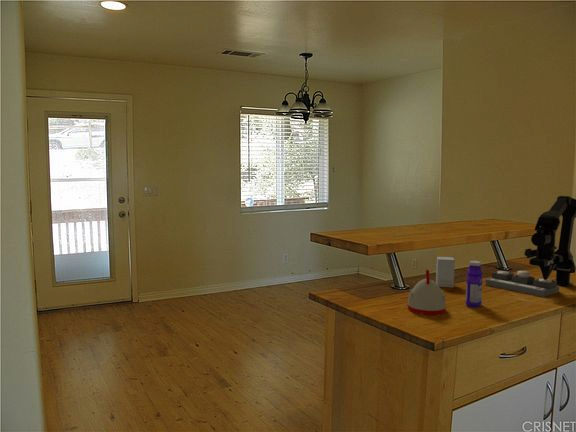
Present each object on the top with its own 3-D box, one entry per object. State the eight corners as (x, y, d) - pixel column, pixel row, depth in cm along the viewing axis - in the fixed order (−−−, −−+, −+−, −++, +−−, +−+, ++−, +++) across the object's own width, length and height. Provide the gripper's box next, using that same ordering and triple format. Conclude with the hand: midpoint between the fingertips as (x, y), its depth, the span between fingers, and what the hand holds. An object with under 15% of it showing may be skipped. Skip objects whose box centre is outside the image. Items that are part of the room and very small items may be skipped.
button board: (501, 280, 233) (501, 270, 232) (558, 291, 212) (559, 280, 212) (485, 284, 224) (485, 274, 223) (543, 297, 204) (544, 285, 203)
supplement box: (454, 287, 219) (455, 259, 217) (436, 286, 220) (437, 259, 219) (452, 283, 226) (453, 256, 225) (435, 283, 227) (436, 256, 226)
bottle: (479, 308, 187) (481, 264, 185) (463, 306, 190) (465, 262, 188) (482, 304, 193) (484, 260, 191) (467, 302, 196) (469, 259, 194)
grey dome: (444, 305, 191) (445, 268, 189) (447, 316, 178) (448, 275, 176) (407, 303, 194) (408, 266, 192) (407, 313, 181) (408, 273, 179)
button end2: (541, 283, 215) (542, 277, 214) (553, 285, 211) (553, 280, 211) (536, 285, 212) (536, 279, 211) (548, 287, 208) (548, 281, 207)
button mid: (520, 275, 222) (520, 270, 222) (531, 277, 218) (531, 272, 218) (515, 277, 219) (515, 271, 219) (526, 279, 215) (526, 273, 215)
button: (500, 275, 230) (500, 270, 229) (510, 277, 226) (511, 272, 225) (494, 277, 227) (495, 271, 226) (505, 279, 223) (505, 273, 222)
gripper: (538, 239, 221) (536, 273, 223) (517, 243, 210) (516, 279, 212) (564, 242, 213) (562, 277, 214) (544, 247, 201) (542, 284, 203)
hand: (545, 279), depth 211 cm, fingers closed
